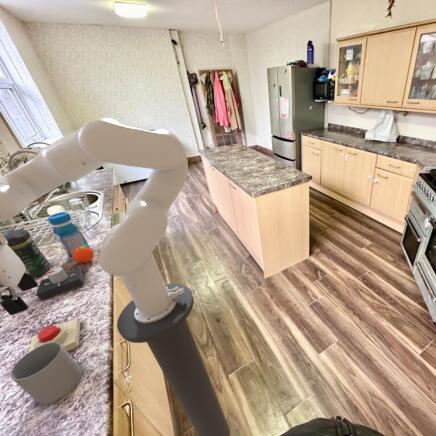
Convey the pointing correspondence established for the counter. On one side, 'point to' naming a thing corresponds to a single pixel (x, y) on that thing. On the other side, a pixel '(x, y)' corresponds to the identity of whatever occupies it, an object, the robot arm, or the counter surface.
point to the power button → (48, 333)
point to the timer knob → (57, 275)
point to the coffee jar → (27, 251)
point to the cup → (46, 373)
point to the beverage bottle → (67, 232)
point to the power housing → (62, 336)
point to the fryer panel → (61, 284)
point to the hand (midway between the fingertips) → (25, 299)
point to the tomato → (83, 254)
